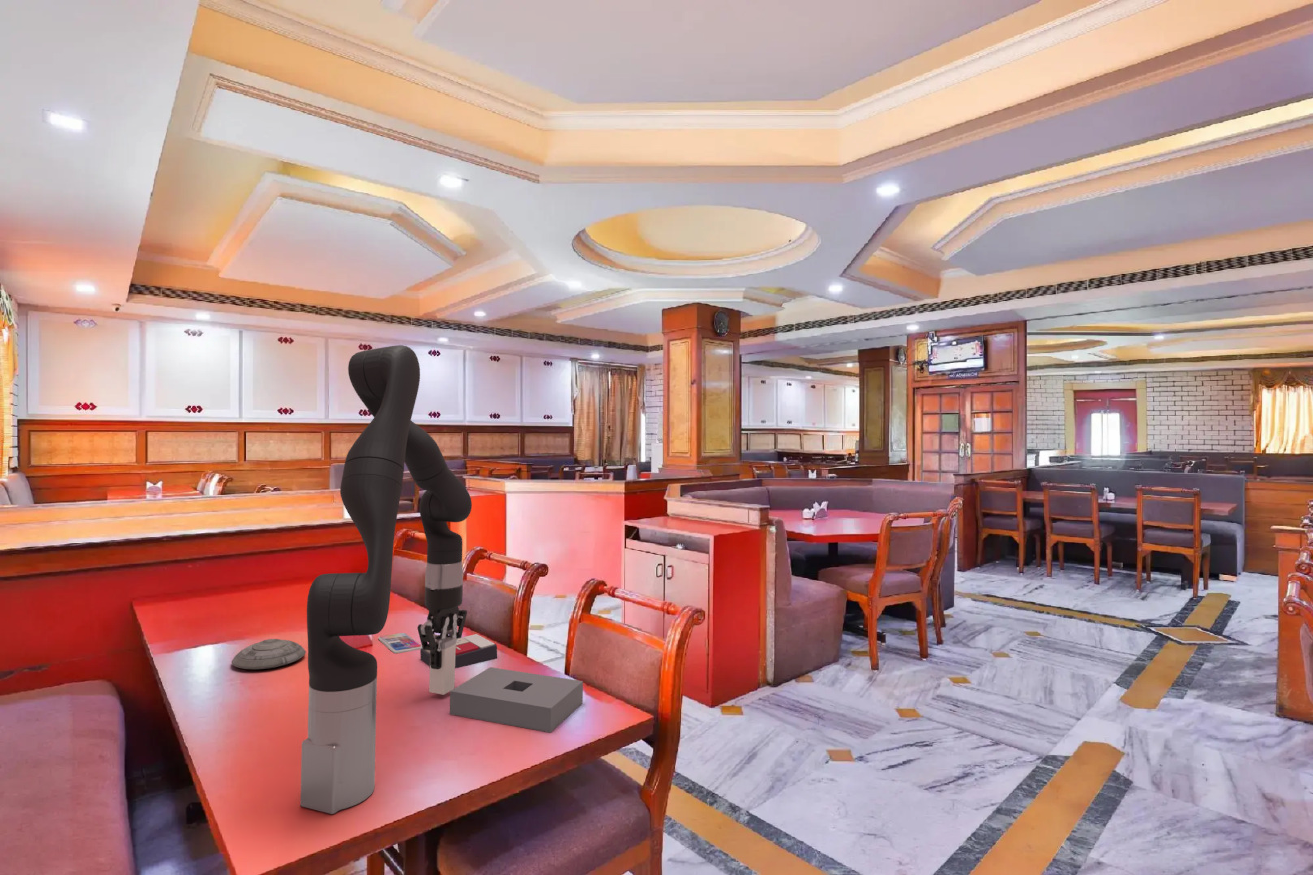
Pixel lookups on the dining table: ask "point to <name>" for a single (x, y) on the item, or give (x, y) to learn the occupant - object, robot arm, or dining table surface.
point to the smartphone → (400, 643)
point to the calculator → (468, 651)
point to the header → (517, 699)
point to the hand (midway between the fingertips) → (442, 664)
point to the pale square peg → (444, 669)
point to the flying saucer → (268, 654)
